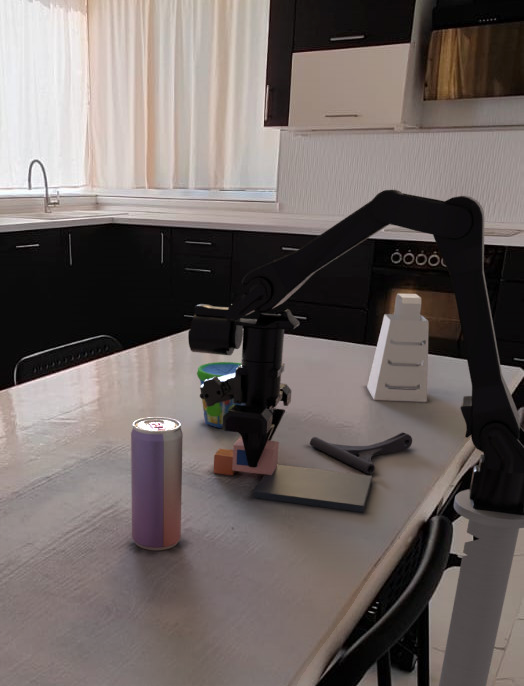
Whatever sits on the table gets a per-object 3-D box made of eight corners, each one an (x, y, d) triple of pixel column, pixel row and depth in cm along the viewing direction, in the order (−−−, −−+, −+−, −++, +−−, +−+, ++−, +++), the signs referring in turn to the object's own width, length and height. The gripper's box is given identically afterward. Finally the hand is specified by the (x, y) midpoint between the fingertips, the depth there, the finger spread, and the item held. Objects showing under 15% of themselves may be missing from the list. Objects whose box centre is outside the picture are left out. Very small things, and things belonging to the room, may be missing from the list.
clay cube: (237, 469, 118) (238, 450, 117) (232, 475, 116) (233, 456, 114) (218, 466, 119) (219, 448, 118) (213, 473, 116) (214, 454, 115)
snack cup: (235, 439, 132) (238, 381, 127) (180, 430, 136) (181, 373, 132) (267, 416, 144) (270, 362, 140) (215, 409, 149) (217, 356, 145)
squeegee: (440, 461, 122) (442, 444, 121) (365, 475, 116) (367, 457, 115) (379, 436, 134) (381, 421, 133) (309, 447, 128) (310, 431, 127)
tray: (371, 482, 114) (372, 475, 113) (362, 512, 103) (363, 505, 103) (271, 469, 118) (271, 463, 118) (253, 497, 108) (254, 491, 107)
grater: (416, 388, 165) (430, 292, 157) (426, 401, 155) (442, 300, 147) (367, 387, 166) (378, 291, 158) (373, 399, 156) (386, 298, 148)
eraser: (277, 466, 116) (279, 441, 115) (271, 475, 113) (273, 449, 111) (238, 461, 118) (239, 437, 117) (231, 470, 115) (233, 445, 113)
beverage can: (138, 554, 91) (137, 433, 85) (127, 534, 96) (125, 418, 90) (186, 549, 92) (189, 429, 86) (173, 529, 98) (174, 414, 92)
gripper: (224, 342, 119) (220, 438, 126) (187, 367, 103) (185, 476, 109) (295, 347, 116) (287, 445, 122) (269, 374, 100) (262, 486, 106)
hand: (255, 462), depth 115 cm, fingers closed on eraser, 4 cm apart
